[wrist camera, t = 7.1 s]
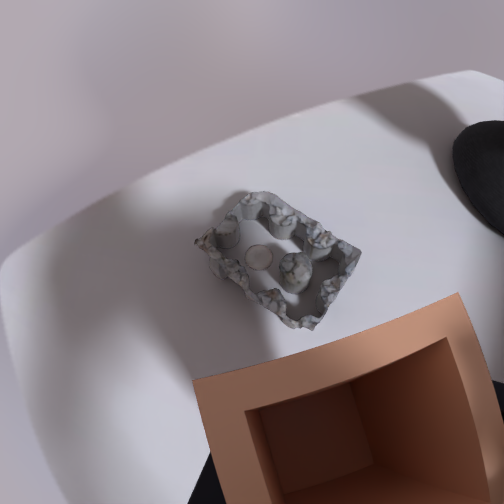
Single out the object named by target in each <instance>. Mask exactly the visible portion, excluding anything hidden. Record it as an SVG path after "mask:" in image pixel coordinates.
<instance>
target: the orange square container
mask: <svg viewBox="0 0 504 504" xmlns="http://www.w3.org/2000/svg"><path fill="white" fill-rule="evenodd" d="M192 382H193V386H194V390H195V394H196V398H197V402H198V406H199V410H200V414H201V418H202V422H203V426H204V429H205V433H206V437H207V441H208V444H209V448H210V451H211V455H212V458H213V462H214V465H215V468H216V472H217V475H218V478H219V482H220V485H221V488H222V491H223V494H224V497H225V500H226V503H227V504H504V423H503V419H502V415H501V411H500V407H499V404H498V400H497V396H496V393H495V389H494V386H493V383H492V380H491V376H490V373H489V370H488V367H487V364H486V361H485V358H484V355H483V352H482V350H481V347H480V344H479V341H478V339H477V336H476V333H475V331H474V328H473V326H472V323H471V321H470V318H469V316H468V313H467V311H466V309H465V306H464V304H463V302H462V299H461V297H460V295H459V293H458V292H457V293H455V294H453V295H451V296H448V297H446V298H444V299H442V300H440V301H437V302H435V303H433V304H430V305H428V306H426V307H423V308H421V309H419V310H416V311H414V312H411V313H409V314H406V315H404V316H402V317H399V318H397V319H394V320H391V321H389V322H386V323H384V324H381V325H378V326H376V327H373V328H370V329H368V330H365V331H362V332H359V333H357V334H354V335H351V336H348V337H345V338H342V339H339V340H336V341H334V342H331V343H328V344H324V345H321V346H318V347H315V348H312V349H309V350H306V351H302V352H299V353H296V354H293V355H289V356H286V357H282V358H279V359H275V360H272V361H268V362H265V363H261V364H257V365H254V366H250V367H246V368H242V369H238V370H234V371H230V372H226V373H222V374H218V375H214V376H209V377H205V378H200V379H196V380H192Z"/></svg>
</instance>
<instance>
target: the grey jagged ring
mask: <svg viewBox="0 0 504 504" xmlns="http://www.w3.org/2000/svg"><path fill="white" fill-rule="evenodd" d="M261 216H264V217H266V218H267V219H269V231H270V233H271V235H272V236H273V237H274V238H277V239H280V240H286V239H290V238H291V237H293V236H297V237H299V238H301V239H302V240H304V245H303V251H304V253H303V252H299V253H289V254H287V255H286V256H284V258H283V259H281V261H280V265H279V268H280V284H281V286H282V288H283V289H284V290H285V291H286V292H288V293H291V294H299V293H301V292H303V291H304V290H306V288H307V287H308V284H309V281H310V278H311V275H312V265H311V261H310V260H312V261H316V262H320V261H323V260H326V259H327V258H329V257H332V258H333V259H335V260H337V261H338V262H339V263H340V264H339V267H338V273H339V274H337V275H335V276H334V277H332V278H331V279H328V280H325V281H323V283H322V284H321V286H320V291H319V294H318V296H317V299H316V307H317V309H318V311H319V312H320V313H321V315H322V316H321V317H320V318H317V317H314V316H312V315H307V316H303V317H301V318H300V319H299V320H298V321H294V320H292V319H290V318H289V317H288V316H286V301H285V299H284V297H283V296H282V294H281V292H280V290H279V289H277V288H274V289H271V290H267V291H261V292H259V293H258V294H254V293H253V292H252V291H251V290H250V288H249V276H248V274H247V273H246V270H245V268H244V267H243V266H241V265H240V264H239V262H238V260H231V259H226V258H225V257H224V256H223V255H222V254H221V253H220V252H219V251H218V250H217V249H216V248H217V247H220V248H225V249H227V248H231V247H233V246H235V245H236V244H237V243H238V241H239V239H240V230H239V222H240V221H241V220H243V219H245V220H255V219H258V218H259V217H261ZM195 244H197V245H198V246H199V248H200V249H202V250H204V251H205V252H206V253H207V254H208V255H209V256H210V262H209V267H210V269H211V270H212V272H213V273H214V274H215V276H217V277H218V278H220V279H221V280H223V279H225V278H227V277H229V278H230V279H232V280H233V281H234V282H236V283H237V284H239V285H240V286H241V287H242V288H243V290H244V291H245V294H246V298H248V299H250V300H252V301H255V302H256V303H259V304H260V305H262V306H263V307H265V308H267V309H268V310H270V311H272V312H273V313H275V314H277V315H278V316H280V317H282V318H283V321H282V322H283V323H284V324H285V325H286V326H288V327H290V328H292V329H295V328H300V329H301V328H302V327H305V328H308V329H310V330H311V331H313V330H314V328H315V326H316V325H317V324H318V323H319V322H320V321H321V320H322V318H323V317H324V315H325V314H326V312H327V310H328V307H329V305H330V304H331V303H332V302H333V301H334V300H335V298H336V297H337V295H338V293H339V291H340V290H341V289H342V287H343V286H344V284H345V282H346V281H347V279H348V277H349V276H351V274H352V273H353V271H354V269H355V267H356V265H357V263H358V260H359V258H360V255H361V253H362V252H361V250H359V249H358V248H356V247H354V246H352V245H350V244H348V243H347V242H345V241H344V240H340V239H338V238H336V237H335V236H333V235H332V233H331V232H330V231H326V230H325V229H324V228H323V227H322V225H321V224H320V223H319V222H317V221H315V220H312V219H311V218H309V217H307V216H306V215H304V214H303V213H301V212H300V211H298V210H296V209H294V208H292V207H291V206H290V205H288V204H287V203H286V202H284V201H283V200H282V199H280V198H279V197H278V196H277V195H275V194H273V193H270V192H265V191H263V192H252V193H249V194H248V195H247V196H245V197H244V198H243V199H241V200H240V201H239V203H238V204H237V206H236V207H235V208H234V209H233V210H231V211H229V212H228V213H227V214H226V216H225V219H224V221H223V222H222V223H221V224H220V225H219V226H218V227H217V228H216V229H214V227H212V228H210V229H209V230H208V231H207V232H206V233H205V234H204V235H203V236H202V237H201V238H200V239H199V240H198V239H196V240H195V242H194V245H195ZM245 261H246V264H247V265H248V266H249V267H250V268H252V269H253V270H254V269H255V270H264V269H266V268H268V267H269V266H270V265H271V263H272V261H273V254H272V252H271V251H270V249H269V248H268V247H267V246H264V245H255V246H252V247H250V248H249V249H248V250H247V252H246V254H245Z"/></svg>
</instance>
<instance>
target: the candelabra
mask: <svg viewBox="0 0 504 504" xmlns="http://www.w3.org/2000/svg"><path fill="white" fill-rule="evenodd" d="M453 160H454V165H455V170H456V172H457V175H458V177H459V179H460V182H461V185H462V188H463V189H464V191H465V192H466V194H467V195H468V197H469V198H470V200H471V202H472V204H473V205H474V207H475V208H476V209H477V210H478V211H479V212H480V213H481V214H482V215H483V216H484V217H485V219H486V220H487V221H488V222H489V223H490V224H491V225H493V226H494V227H495V228H497V229H498V230H499V231H500V232H501V233H503V234H504V121H496V120H494V121H483V122H479V123H476V124H473V125H471V126H469V127H466V128H465V129H464V130H463V131H462V132H461V133H460V134H459V135H458V137H457V138H456V140H455V141H454V144H453Z"/></svg>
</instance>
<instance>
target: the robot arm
mask: <svg viewBox="0 0 504 504" xmlns="http://www.w3.org/2000/svg"><path fill="white" fill-rule="evenodd" d="M492 383H493V386H494V389H495V393H496V396H497V400H498V404H499V407H500V411H501V415H502V419H503V423H504V383H500V382H497V381H493V380H492ZM187 504H227V503H226V500H225V497H224V494H223V491H222V488H221V485H220V482H219V478H218V475H217V472H216V468H215V465H214V462H213V458H212V455H211V451H210V454H209V456H208V458H207V460H206V463H205V465H204V467H203V470H202V472H201V474H200V476H199V479H198V481H197V483H196V486H195V488H194V490H193V492H192V494H191V497H190V499H189V501H188V503H187Z"/></svg>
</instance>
